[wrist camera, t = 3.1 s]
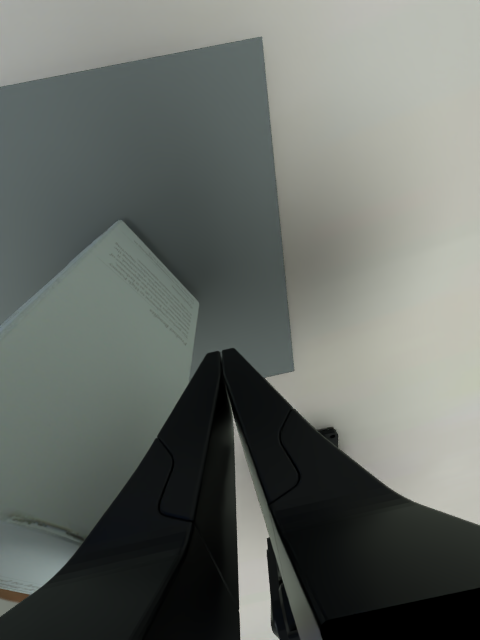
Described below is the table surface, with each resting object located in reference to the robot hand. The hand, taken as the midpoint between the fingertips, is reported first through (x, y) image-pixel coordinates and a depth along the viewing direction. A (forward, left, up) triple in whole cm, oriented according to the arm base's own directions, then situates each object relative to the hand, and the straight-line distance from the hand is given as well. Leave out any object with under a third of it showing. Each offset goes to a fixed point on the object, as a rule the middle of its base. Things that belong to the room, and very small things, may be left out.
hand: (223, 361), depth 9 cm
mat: (0, +8, -9) cm, 12 cm away
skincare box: (0, +4, -8) cm, 9 cm away
